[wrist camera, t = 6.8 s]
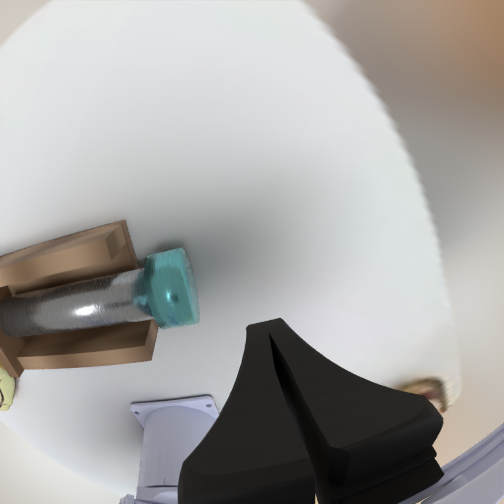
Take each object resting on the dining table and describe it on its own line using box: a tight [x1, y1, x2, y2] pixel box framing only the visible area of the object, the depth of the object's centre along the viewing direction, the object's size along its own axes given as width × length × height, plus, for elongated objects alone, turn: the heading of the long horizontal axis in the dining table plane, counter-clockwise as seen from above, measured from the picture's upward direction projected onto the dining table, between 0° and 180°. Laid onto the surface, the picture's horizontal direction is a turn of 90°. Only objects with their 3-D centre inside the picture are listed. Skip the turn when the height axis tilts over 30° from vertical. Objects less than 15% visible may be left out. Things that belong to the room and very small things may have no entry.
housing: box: [0, 220, 159, 378], centre depth 16 cm, size 13×8×5 cm, turn 99°
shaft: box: [0, 248, 199, 337], centre depth 16 cm, size 14×4×4 cm, turn 99°
